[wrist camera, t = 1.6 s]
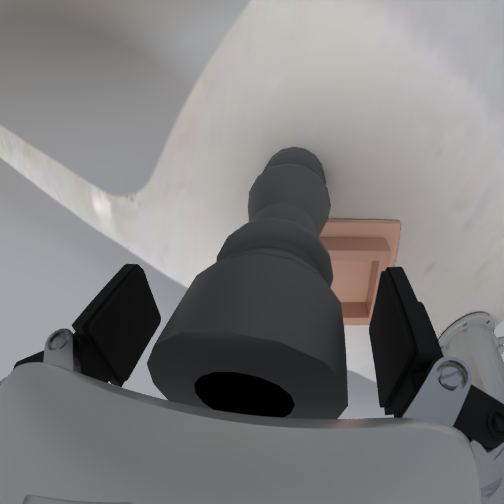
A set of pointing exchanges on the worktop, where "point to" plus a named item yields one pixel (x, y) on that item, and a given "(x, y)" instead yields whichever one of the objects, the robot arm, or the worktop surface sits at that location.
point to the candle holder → (263, 310)
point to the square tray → (359, 262)
